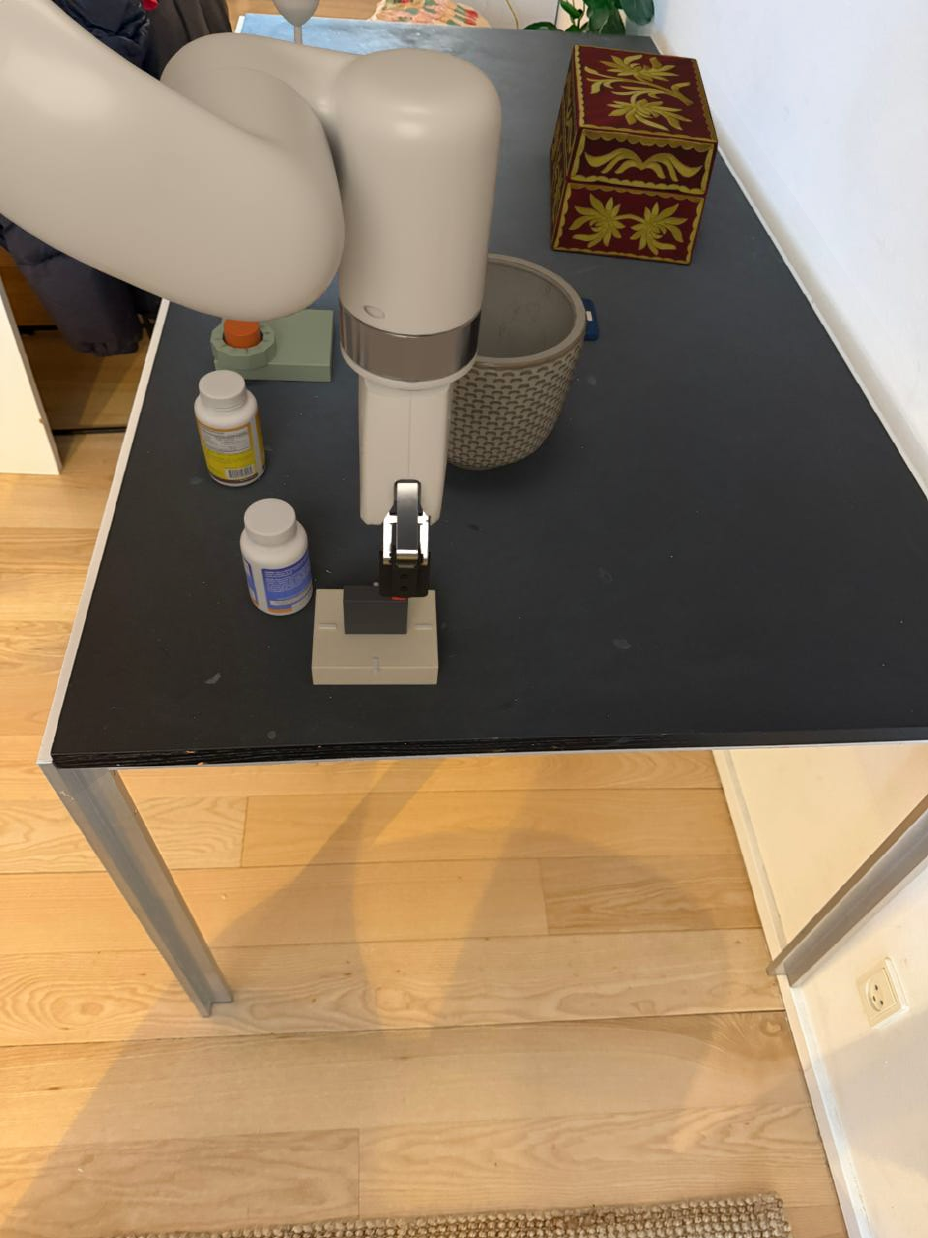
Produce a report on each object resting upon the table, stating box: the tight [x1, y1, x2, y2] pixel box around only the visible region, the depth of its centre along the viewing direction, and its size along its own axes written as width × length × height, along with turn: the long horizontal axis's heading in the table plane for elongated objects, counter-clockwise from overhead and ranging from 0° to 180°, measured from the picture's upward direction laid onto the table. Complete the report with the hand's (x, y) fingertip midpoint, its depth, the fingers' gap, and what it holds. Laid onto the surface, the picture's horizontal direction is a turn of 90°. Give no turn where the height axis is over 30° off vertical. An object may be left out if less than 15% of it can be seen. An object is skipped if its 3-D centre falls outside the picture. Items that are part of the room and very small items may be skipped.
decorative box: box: [549, 44, 719, 265], centre depth 115 cm, size 28×19×15 cm
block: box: [209, 308, 335, 383], centre depth 93 cm, size 12×11×4 cm
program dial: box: [343, 585, 408, 634], centre depth 69 cm, size 5×2×5 cm, turn 93°
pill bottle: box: [239, 497, 314, 617], centre depth 71 cm, size 5×5×10 cm
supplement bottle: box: [193, 370, 266, 487], centre depth 80 cm, size 6×6×10 cm
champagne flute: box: [272, 0, 320, 44], centre depth 124 cm, size 7×7×24 cm
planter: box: [447, 252, 587, 472], centre depth 83 cm, size 17×17×16 cm
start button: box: [223, 319, 261, 349], centre depth 90 cm, size 4×4×2 cm
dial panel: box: [311, 582, 439, 686], centre depth 72 cm, size 10×9×3 cm
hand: (403, 538), depth 60 cm, fingers open, 9 cm apart
